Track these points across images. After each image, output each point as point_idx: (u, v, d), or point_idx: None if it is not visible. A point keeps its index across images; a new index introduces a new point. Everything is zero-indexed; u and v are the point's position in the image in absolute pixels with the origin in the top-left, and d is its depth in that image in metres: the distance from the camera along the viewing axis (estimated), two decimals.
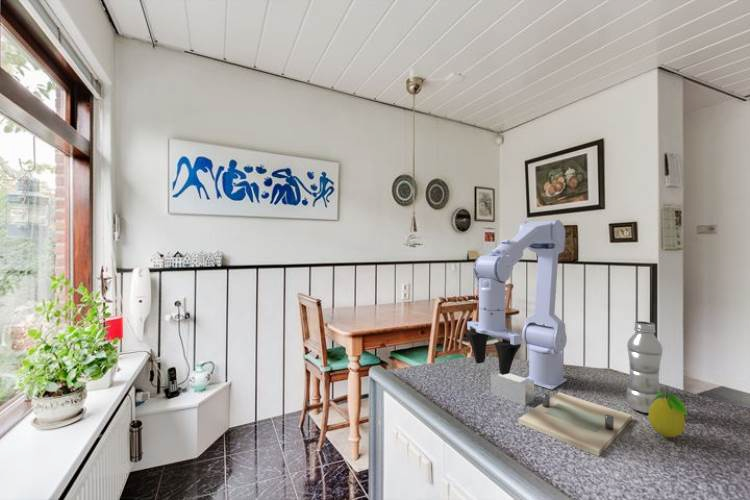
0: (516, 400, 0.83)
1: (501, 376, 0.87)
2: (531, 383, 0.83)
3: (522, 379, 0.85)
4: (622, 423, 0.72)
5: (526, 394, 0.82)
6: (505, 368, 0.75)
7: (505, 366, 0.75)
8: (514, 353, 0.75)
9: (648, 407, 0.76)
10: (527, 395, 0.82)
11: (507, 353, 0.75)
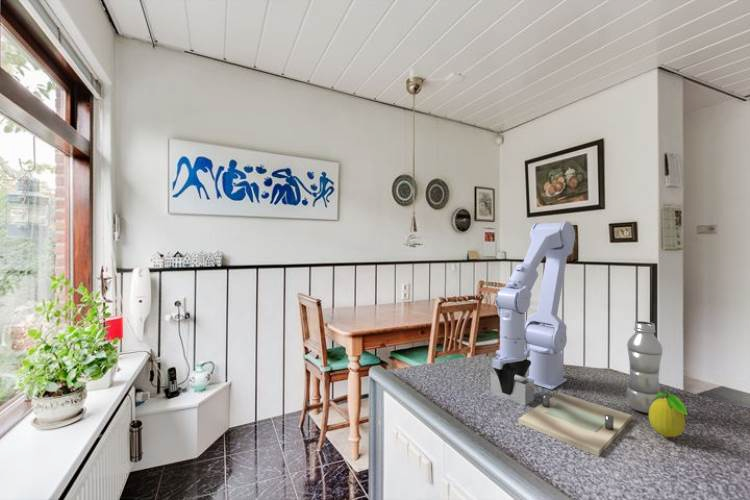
0: (516, 399, 0.83)
1: None
2: (531, 382, 0.83)
3: (522, 378, 0.85)
4: (622, 423, 0.72)
5: (526, 394, 0.82)
6: (504, 388, 0.85)
7: (504, 386, 0.85)
8: (509, 377, 0.83)
9: (648, 407, 0.76)
10: (527, 395, 0.82)
11: (506, 375, 0.84)
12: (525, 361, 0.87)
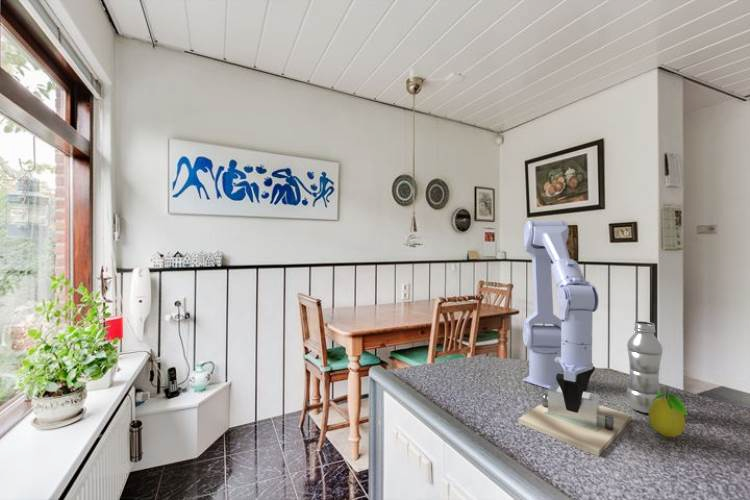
0: (584, 420, 0.71)
1: (561, 392, 0.74)
2: (598, 398, 0.72)
3: (587, 394, 0.73)
4: (622, 423, 0.72)
5: (597, 413, 0.70)
6: (570, 405, 0.71)
7: (570, 402, 0.71)
8: (579, 392, 0.69)
9: (648, 407, 0.76)
10: (597, 414, 0.71)
11: (573, 390, 0.71)
12: None
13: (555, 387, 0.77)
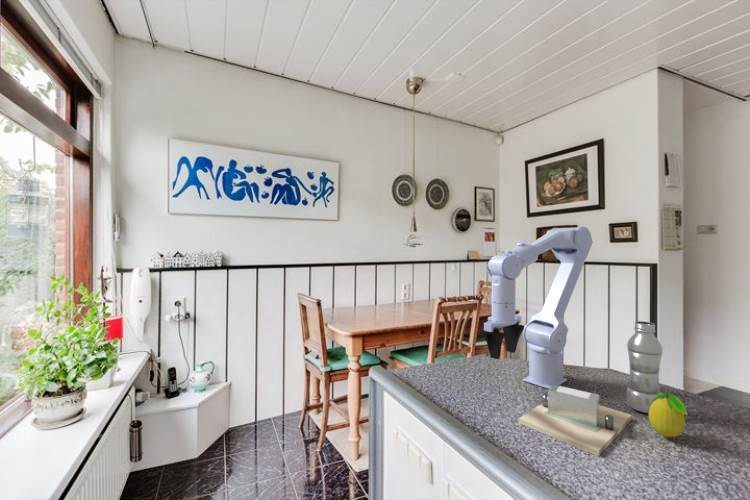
0: (584, 420, 0.71)
1: (561, 392, 0.74)
2: (598, 398, 0.72)
3: (587, 394, 0.73)
4: (622, 423, 0.72)
5: (597, 413, 0.70)
6: (493, 353, 0.87)
7: (492, 351, 0.87)
8: (497, 342, 0.85)
9: (648, 407, 0.76)
10: (597, 414, 0.71)
11: (494, 340, 0.86)
12: (518, 326, 0.90)
13: (555, 387, 0.77)
